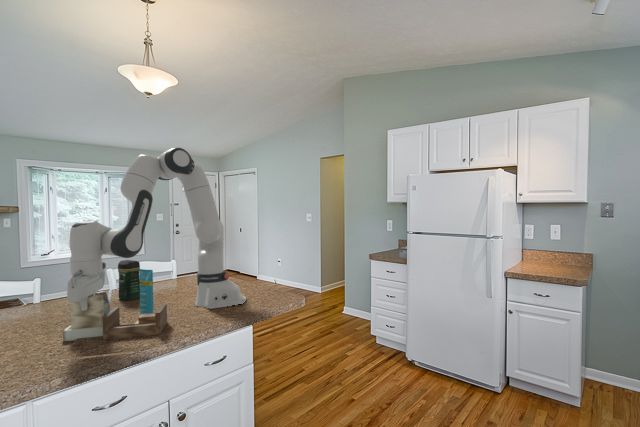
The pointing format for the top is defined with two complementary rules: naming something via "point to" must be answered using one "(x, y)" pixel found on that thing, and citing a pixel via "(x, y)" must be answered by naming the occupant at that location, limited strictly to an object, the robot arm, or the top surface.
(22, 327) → the top surface
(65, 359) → the top surface
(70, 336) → the tray
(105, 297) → the beverage carton
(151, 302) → the tube
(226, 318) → the top surface
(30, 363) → the top surface
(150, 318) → the offcut short
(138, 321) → the block
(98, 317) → the sheet
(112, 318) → the rack
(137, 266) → the coffee jar
